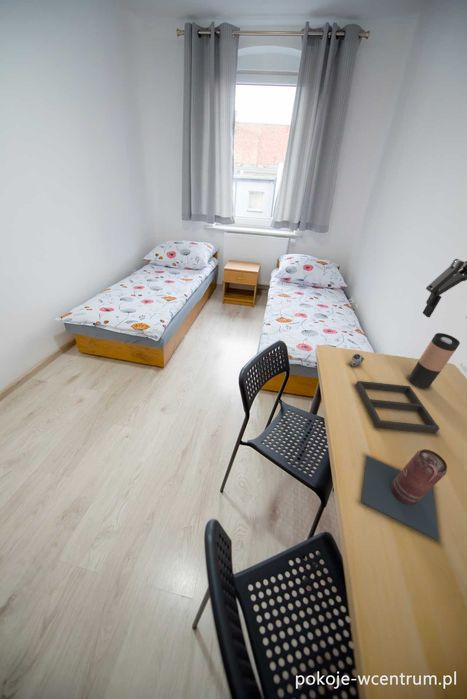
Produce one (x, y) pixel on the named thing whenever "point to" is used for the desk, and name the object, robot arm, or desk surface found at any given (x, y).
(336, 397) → the desk surface
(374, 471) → the mat
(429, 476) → the can
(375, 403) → the frame
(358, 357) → the wristwatch
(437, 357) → the travel mug
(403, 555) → the desk surface
